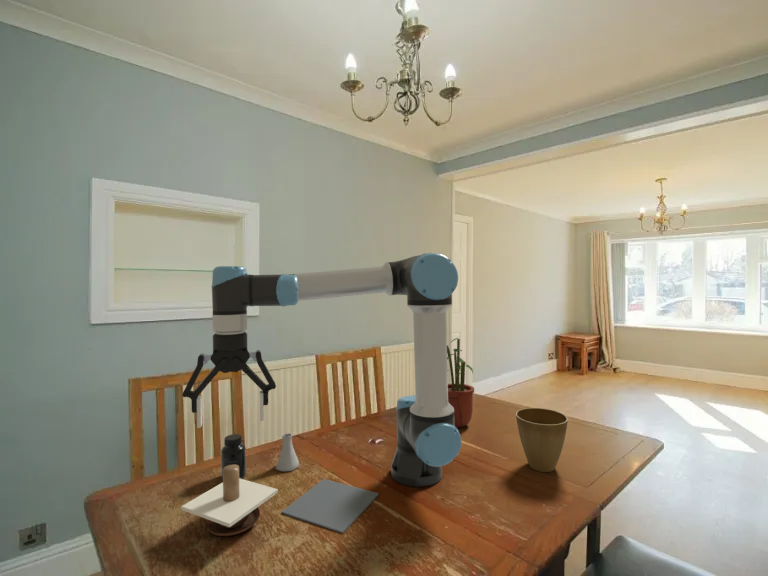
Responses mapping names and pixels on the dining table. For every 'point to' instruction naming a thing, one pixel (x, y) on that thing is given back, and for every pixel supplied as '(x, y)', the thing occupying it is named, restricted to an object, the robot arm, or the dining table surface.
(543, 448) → the plant pot
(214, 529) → the cup and saucer
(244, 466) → the supplement bottle
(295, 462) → the flask
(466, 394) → the potted plant
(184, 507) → the board
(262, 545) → the dining table surface
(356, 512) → the mat
